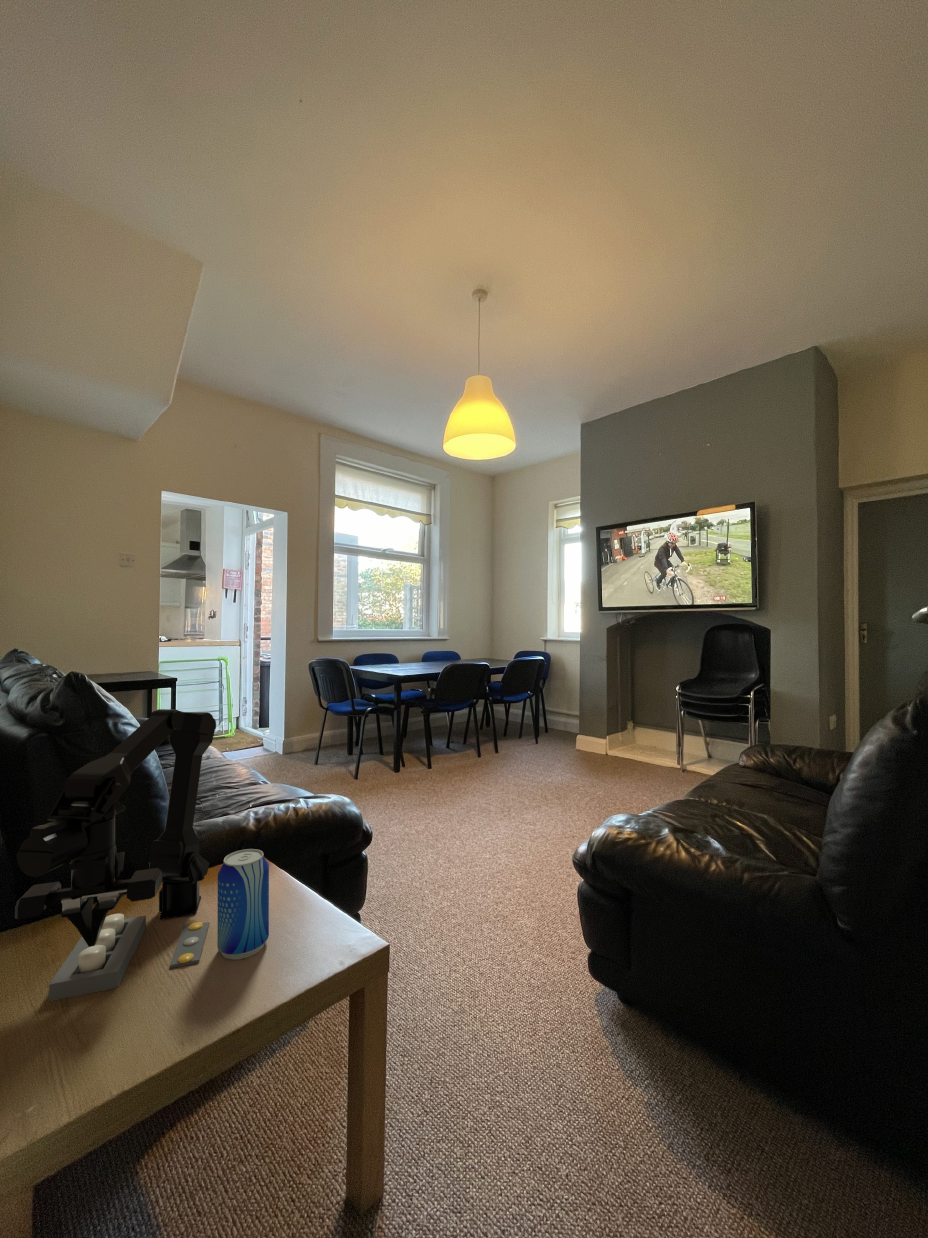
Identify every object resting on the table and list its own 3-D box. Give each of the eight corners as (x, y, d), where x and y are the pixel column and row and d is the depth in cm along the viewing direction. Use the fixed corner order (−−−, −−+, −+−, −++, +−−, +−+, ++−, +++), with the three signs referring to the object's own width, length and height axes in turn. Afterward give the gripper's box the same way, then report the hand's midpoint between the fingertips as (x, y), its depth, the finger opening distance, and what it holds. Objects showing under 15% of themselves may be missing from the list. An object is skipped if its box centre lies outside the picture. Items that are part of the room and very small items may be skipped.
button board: (145, 929, 97) (145, 915, 97) (117, 987, 81) (118, 971, 81) (89, 938, 94) (89, 924, 94) (49, 1001, 78) (49, 984, 78)
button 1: (108, 958, 85) (108, 943, 85) (101, 971, 82) (101, 955, 82) (83, 963, 84) (83, 947, 84) (75, 976, 81) (75, 960, 81)
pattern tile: (209, 924, 99) (209, 920, 99) (199, 963, 87) (199, 959, 87) (183, 928, 97) (183, 924, 97) (169, 969, 86) (169, 964, 86)
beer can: (277, 946, 92) (277, 855, 92) (229, 969, 85) (229, 872, 86) (255, 928, 97) (256, 843, 98) (209, 948, 91) (209, 857, 92)
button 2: (126, 926, 95) (126, 912, 95) (120, 936, 91) (120, 922, 92) (104, 929, 94) (104, 915, 94) (97, 940, 90) (97, 926, 90)
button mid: (117, 941, 90) (118, 927, 90) (111, 953, 87) (111, 938, 87) (94, 945, 89) (94, 930, 89) (86, 957, 86) (87, 942, 86)
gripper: (169, 823, 94) (168, 909, 94) (46, 837, 88) (45, 929, 88) (154, 847, 84) (153, 944, 83) (13, 864, 78) (12, 969, 77)
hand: (92, 945), depth 83 cm, fingers closed
